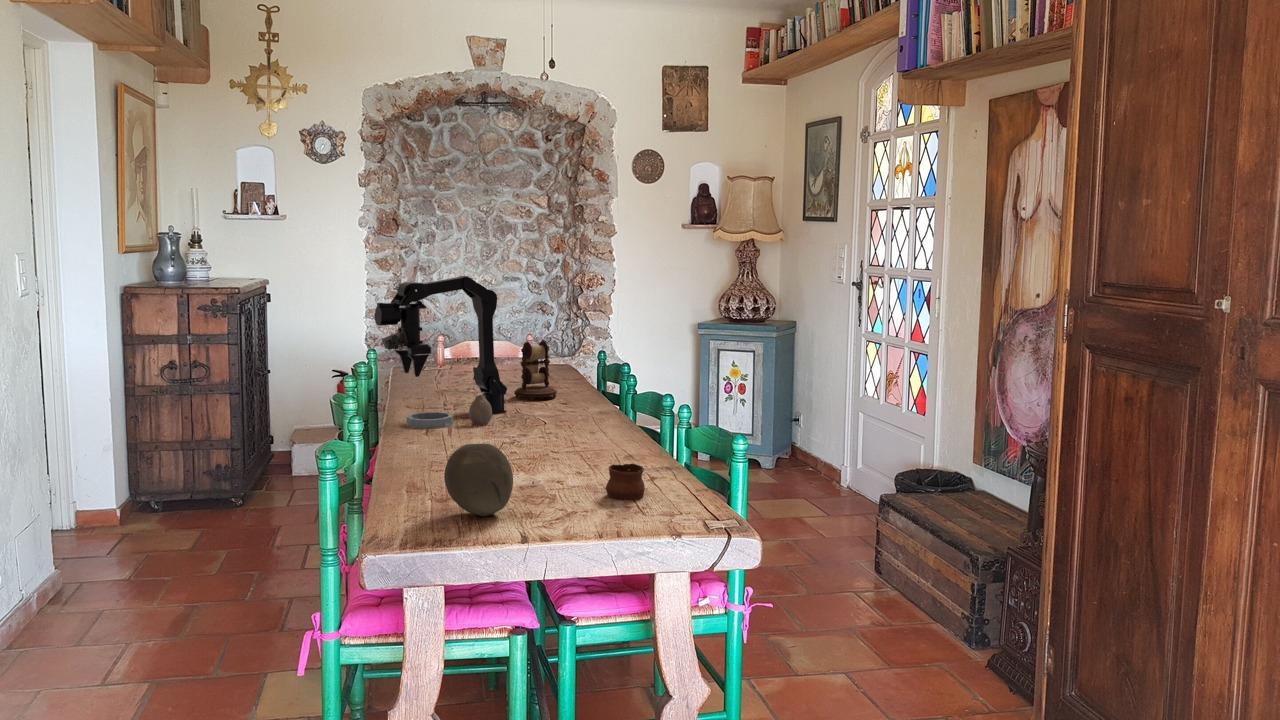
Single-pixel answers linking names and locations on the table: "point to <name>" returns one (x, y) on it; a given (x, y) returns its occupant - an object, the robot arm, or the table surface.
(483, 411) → the vase
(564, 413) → the table surface
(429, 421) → the ring dish
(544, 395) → the spool holder stand
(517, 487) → the table surface
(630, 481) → the ceramic pot
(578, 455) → the table surface
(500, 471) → the dark brown round lump
